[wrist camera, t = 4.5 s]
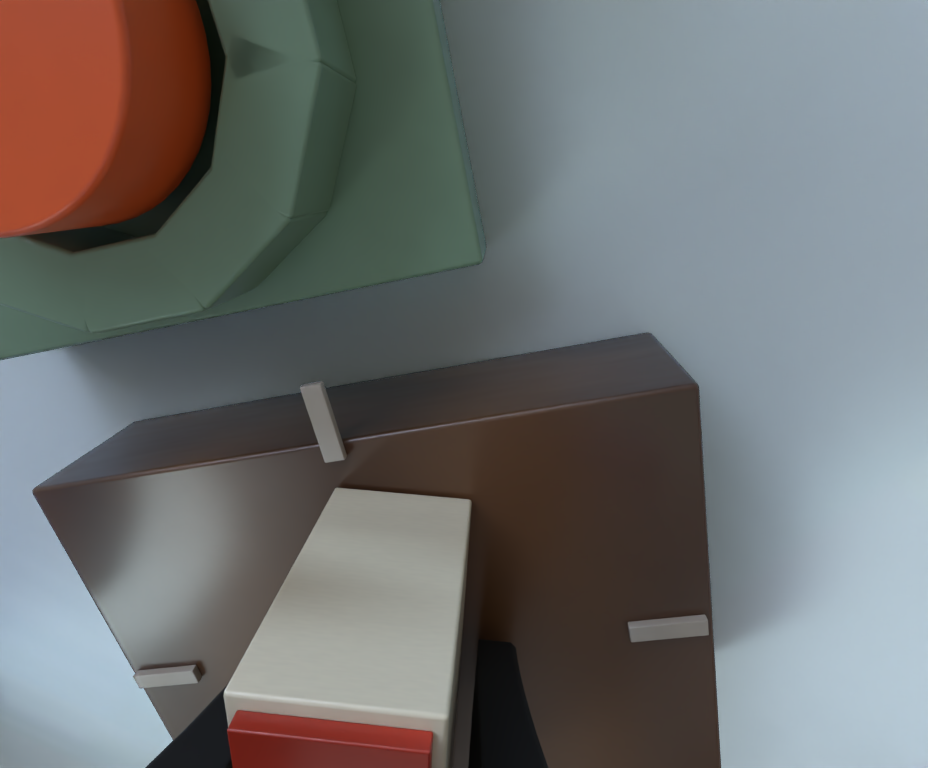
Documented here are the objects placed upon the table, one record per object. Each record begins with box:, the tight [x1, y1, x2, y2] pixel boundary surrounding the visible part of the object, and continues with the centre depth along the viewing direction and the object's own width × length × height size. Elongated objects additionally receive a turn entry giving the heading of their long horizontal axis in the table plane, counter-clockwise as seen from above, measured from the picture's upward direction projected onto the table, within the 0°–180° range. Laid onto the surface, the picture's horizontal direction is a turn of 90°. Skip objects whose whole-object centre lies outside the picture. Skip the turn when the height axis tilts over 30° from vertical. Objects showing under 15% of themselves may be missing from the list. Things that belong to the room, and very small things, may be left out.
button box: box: [0, 0, 486, 360], centre depth 8 cm, size 10×8×4 cm
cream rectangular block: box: [224, 488, 472, 768], centre depth 9 cm, size 8×2×4 cm, turn 177°
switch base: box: [32, 333, 721, 768], centre depth 12 cm, size 12×12×3 cm
